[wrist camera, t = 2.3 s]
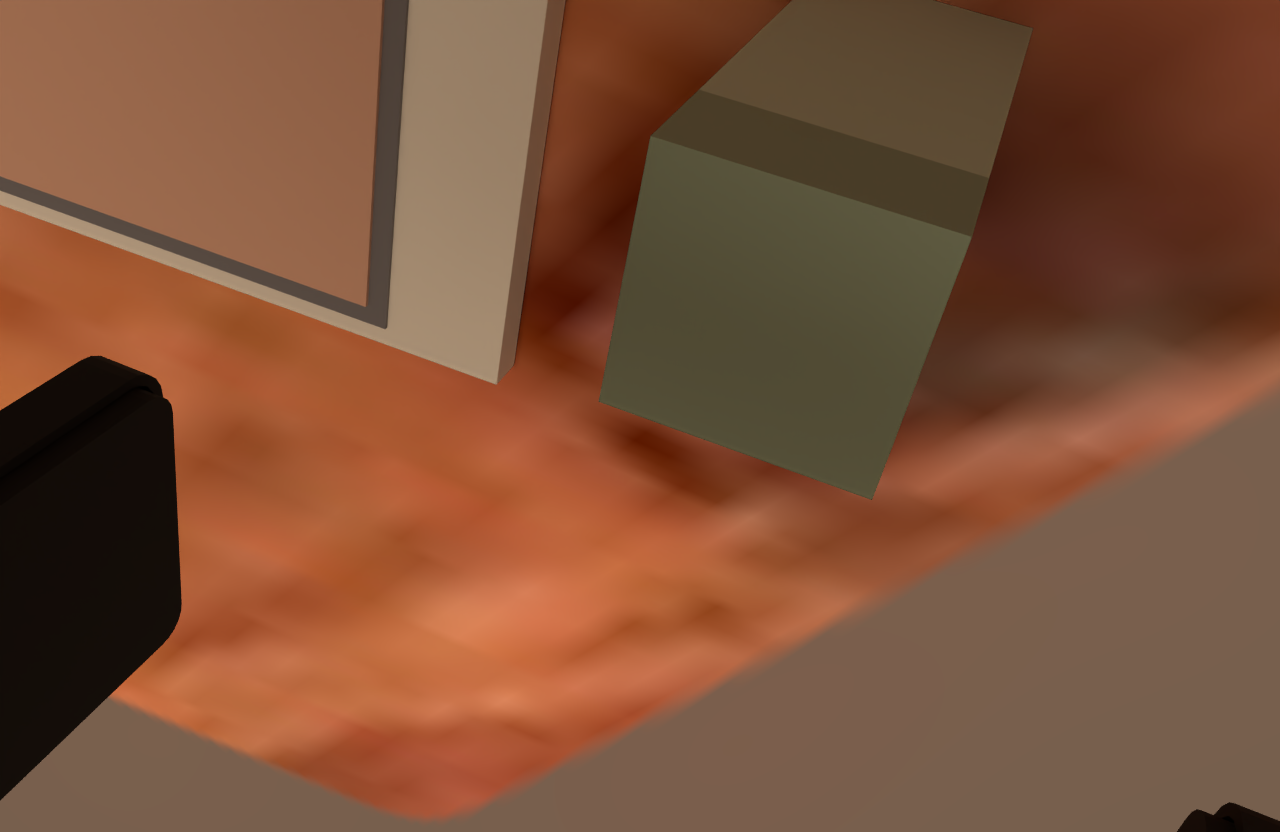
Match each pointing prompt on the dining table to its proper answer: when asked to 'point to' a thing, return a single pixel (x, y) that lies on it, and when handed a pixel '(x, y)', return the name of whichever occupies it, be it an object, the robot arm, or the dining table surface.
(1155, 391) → the dining table surface
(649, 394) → the sage block
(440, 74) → the picture board
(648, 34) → the dining table surface
